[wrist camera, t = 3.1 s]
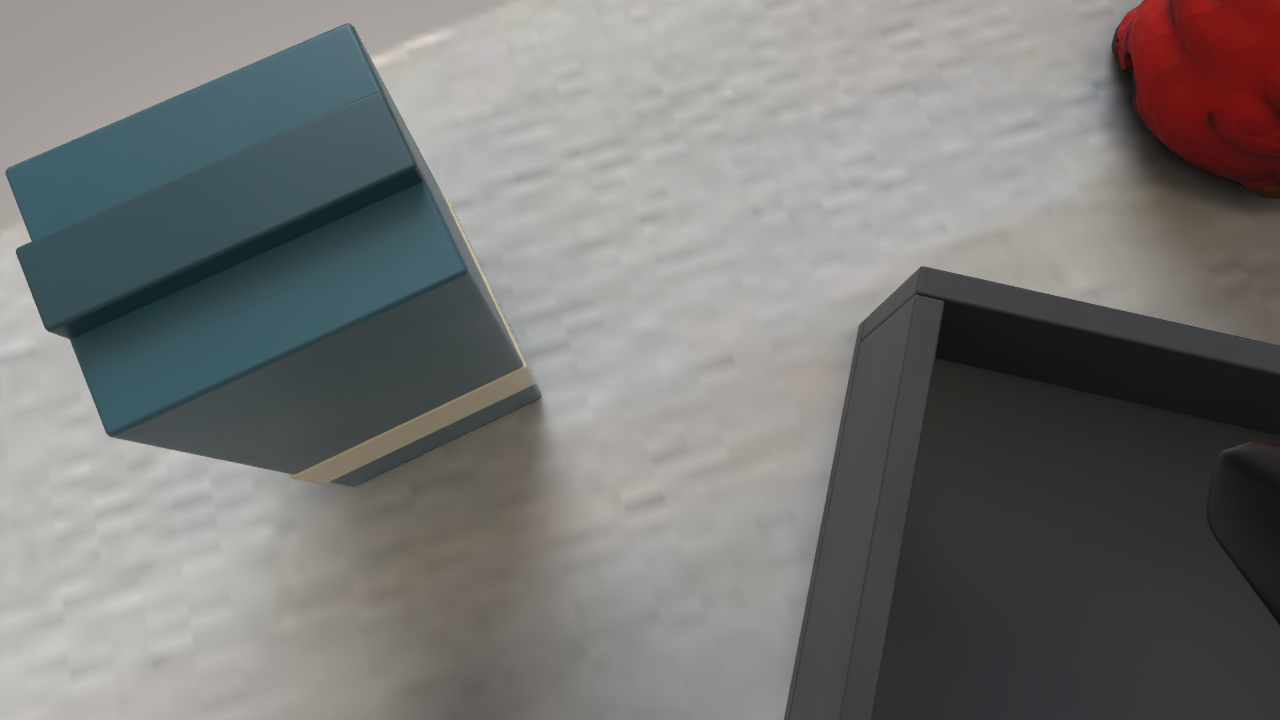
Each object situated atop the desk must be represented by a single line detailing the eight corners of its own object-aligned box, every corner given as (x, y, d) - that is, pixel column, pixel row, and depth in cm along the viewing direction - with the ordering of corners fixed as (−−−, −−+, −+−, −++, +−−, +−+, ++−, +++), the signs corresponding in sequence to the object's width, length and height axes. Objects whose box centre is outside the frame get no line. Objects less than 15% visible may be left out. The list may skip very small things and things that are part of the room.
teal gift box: (545, 398, 23) (468, 262, 12) (351, 490, 23) (80, 439, 12) (476, 253, 24) (341, -7, 13) (286, 339, 23) (-30, 151, 12)
